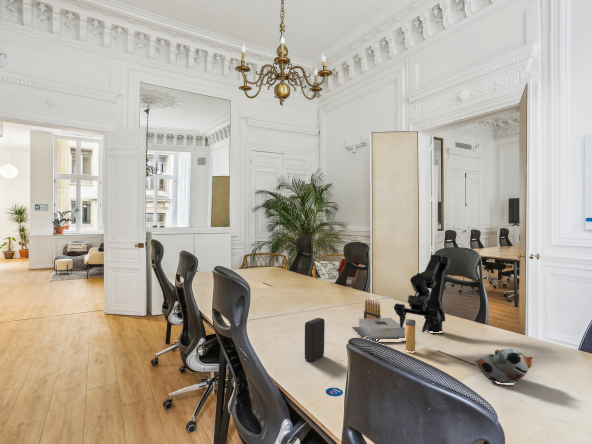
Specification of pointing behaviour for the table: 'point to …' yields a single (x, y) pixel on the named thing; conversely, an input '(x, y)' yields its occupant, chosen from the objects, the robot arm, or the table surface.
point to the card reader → (314, 339)
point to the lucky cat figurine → (504, 365)
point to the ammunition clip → (372, 309)
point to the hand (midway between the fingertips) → (411, 329)
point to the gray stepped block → (379, 329)
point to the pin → (410, 335)
